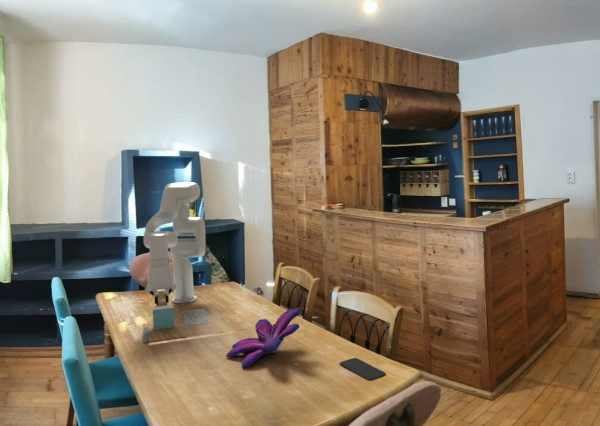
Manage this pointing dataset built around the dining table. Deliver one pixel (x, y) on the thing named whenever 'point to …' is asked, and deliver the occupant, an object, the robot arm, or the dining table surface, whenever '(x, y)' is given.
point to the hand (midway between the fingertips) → (161, 304)
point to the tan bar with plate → (161, 298)
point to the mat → (146, 336)
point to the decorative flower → (266, 337)
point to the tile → (163, 317)
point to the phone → (362, 369)
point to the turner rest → (195, 316)
